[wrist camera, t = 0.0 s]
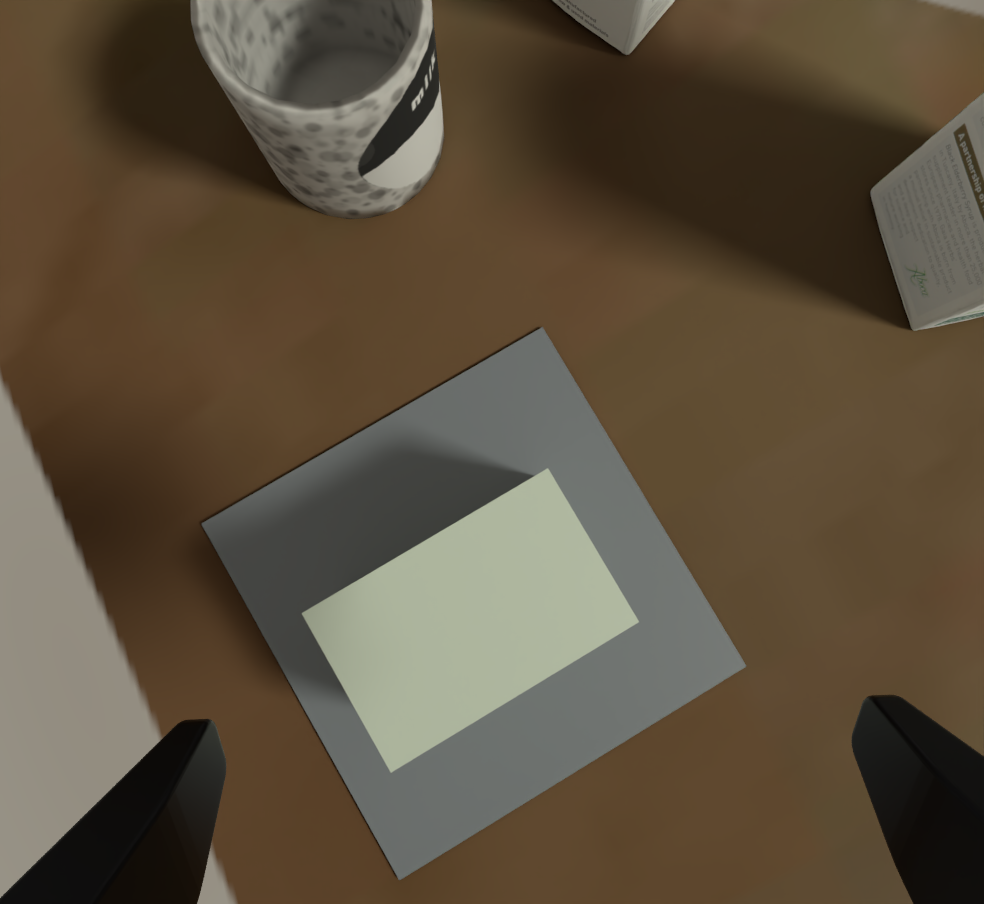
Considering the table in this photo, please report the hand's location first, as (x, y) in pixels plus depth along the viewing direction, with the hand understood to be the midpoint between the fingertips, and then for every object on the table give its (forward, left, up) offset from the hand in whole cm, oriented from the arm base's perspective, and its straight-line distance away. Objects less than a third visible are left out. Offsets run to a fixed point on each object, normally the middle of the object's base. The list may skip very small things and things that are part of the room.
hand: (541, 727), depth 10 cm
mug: (+19, -5, -15) cm, 25 cm away
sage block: (+1, +1, -15) cm, 15 cm away
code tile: (+1, +1, -15) cm, 15 cm away
